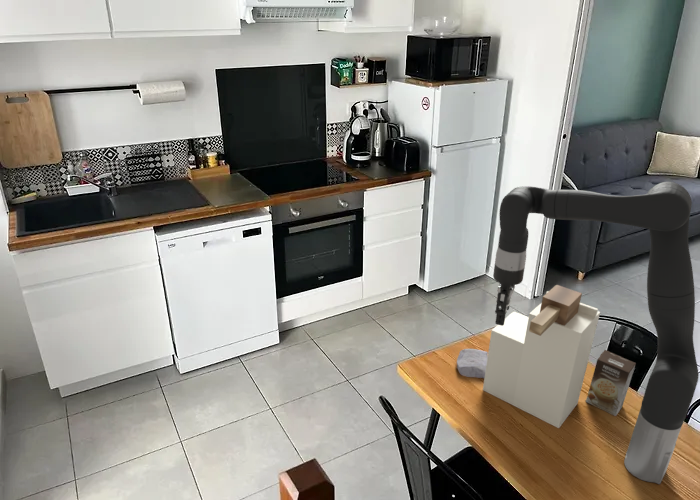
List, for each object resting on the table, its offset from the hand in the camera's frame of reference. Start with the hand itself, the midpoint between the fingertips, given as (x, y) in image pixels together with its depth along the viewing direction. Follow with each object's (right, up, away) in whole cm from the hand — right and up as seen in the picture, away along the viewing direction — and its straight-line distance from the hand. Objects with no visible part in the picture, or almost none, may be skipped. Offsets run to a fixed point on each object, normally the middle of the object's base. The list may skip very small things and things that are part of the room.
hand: (502, 316), depth 146 cm
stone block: (-2, -20, +30) cm, 37 cm away
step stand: (+13, -26, +17) cm, 34 cm away
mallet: (+11, -1, -4) cm, 12 cm away
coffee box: (+35, -28, +14) cm, 47 cm away
